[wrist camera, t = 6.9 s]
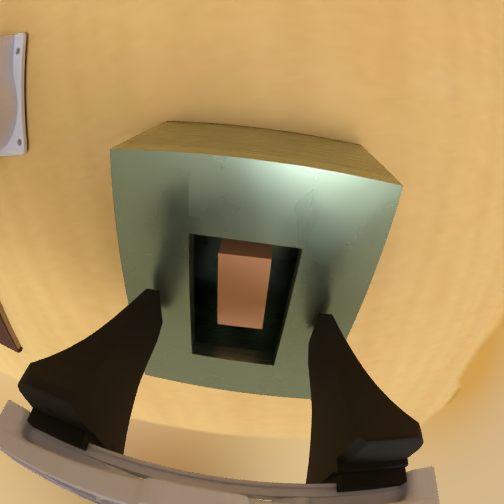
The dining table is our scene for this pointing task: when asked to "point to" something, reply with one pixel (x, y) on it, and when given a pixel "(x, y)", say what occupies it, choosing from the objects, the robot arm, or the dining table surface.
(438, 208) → the dining table surface
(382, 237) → the green tissue box
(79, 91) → the dining table surface
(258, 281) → the orange rectangular block
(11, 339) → the notebook
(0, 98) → the robot arm
